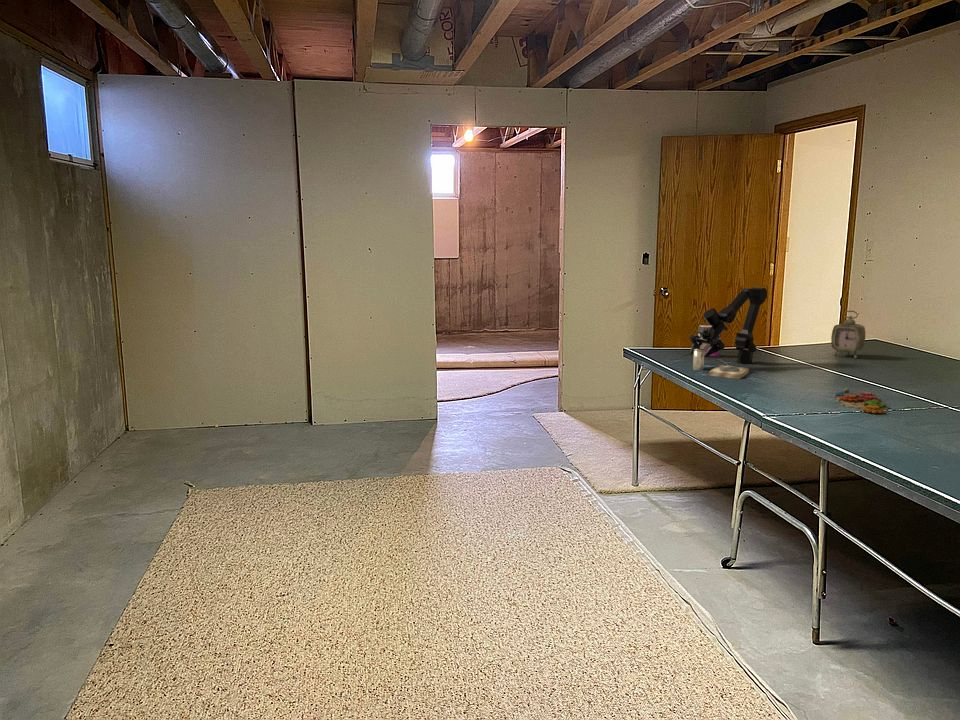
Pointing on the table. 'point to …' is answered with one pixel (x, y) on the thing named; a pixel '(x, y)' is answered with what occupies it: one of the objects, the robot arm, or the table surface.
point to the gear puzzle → (861, 401)
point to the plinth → (729, 372)
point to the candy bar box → (706, 346)
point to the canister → (698, 359)
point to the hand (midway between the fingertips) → (697, 355)
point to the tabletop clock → (848, 336)
